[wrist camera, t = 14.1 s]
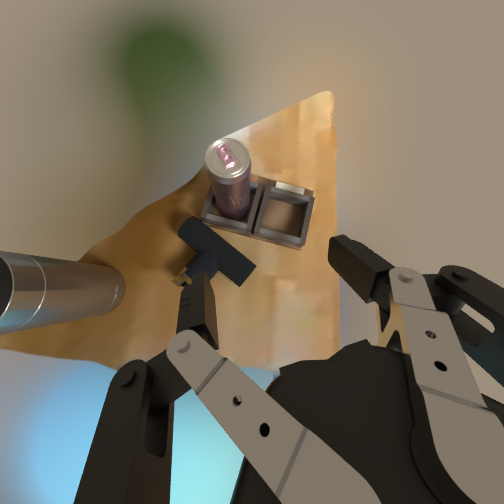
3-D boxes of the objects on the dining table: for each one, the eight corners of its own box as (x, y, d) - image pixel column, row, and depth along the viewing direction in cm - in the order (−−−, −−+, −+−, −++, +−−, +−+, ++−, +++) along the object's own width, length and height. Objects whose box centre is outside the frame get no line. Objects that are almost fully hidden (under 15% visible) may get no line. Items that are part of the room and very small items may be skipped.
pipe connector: (213, 318, 30) (146, 260, 31) (217, 314, 35) (160, 264, 36) (257, 264, 32) (193, 212, 33) (255, 267, 37) (199, 222, 39)
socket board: (203, 224, 38) (198, 217, 34) (221, 170, 40) (218, 156, 36) (299, 250, 38) (306, 246, 34) (311, 193, 40) (319, 183, 36)
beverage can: (240, 189, 38) (238, 129, 24) (253, 213, 38) (259, 167, 23) (214, 201, 38) (195, 147, 23) (227, 226, 37) (216, 187, 22)
